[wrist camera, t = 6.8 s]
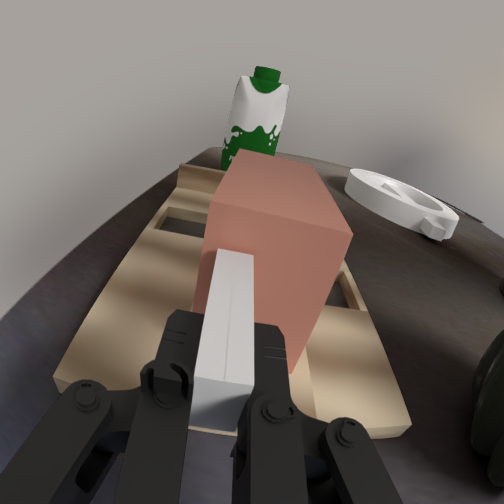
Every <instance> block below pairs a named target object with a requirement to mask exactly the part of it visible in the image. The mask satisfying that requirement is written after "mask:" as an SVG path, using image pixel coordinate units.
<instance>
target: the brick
mask: <svg viewBox="0 0 504 504" xmlns="http://www.w3.org/2000/svg"><path fill="white" fill-rule="evenodd" d="M352 237H353V233H352V231H351V229H350V227H349V226H348V224H347V222H346V220H345V219H344V217H343V215H342V213H341V212H340V210H339V208H338V206H337V205H336V203H335V201H334V200H333V198H332V196H331V195H330V193H329V191H328V190H327V188H326V186H325V185H324V183H323V181H322V180H321V178H320V177H319V175H318V173H317V172H316V170H315V169H314V167H313V166H310V165H307V164H303V163H299V162H295V161H291V160H287V159H283V158H279V157H275V156H271V155H267V154H263V153H258V152H254V151H249V150H245V149H239V151H238V152H237V154H236V156H235V158H234V159H233V161H232V163H231V164H230V166H229V168H228V170H227V172H226V173H225V175H224V177H223V179H222V180H221V182H220V184H219V186H218V188H217V189H216V191H215V193H214V195H213V197H212V198H211V200H210V205H209V211H208V217H207V222H206V228H205V234H204V240H203V246H202V252H201V258H200V265H199V271H198V278H197V284H196V291H195V298H194V305H193V312H195V313H200V314H205V311H206V306H207V301H208V295H209V290H210V285H211V280H212V275H213V270H214V265H215V260H216V255H217V250H218V248H219V249H224V250H229V251H234V252H240V253H245V254H250V255H254V322H257V323H263V324H270V325H276V326H278V327H279V329H280V330H281V332H282V334H283V335H284V337H285V346H286V349H285V351H286V355H287V359H286V360H287V365H288V374H292V372H293V370H294V368H295V366H296V364H297V362H298V360H299V358H300V356H301V354H302V352H303V350H304V347H305V345H306V343H307V341H308V339H309V337H310V335H311V333H312V331H313V328H314V326H315V324H316V322H317V320H318V318H319V315H320V313H321V311H322V309H323V306H324V304H325V302H326V300H327V297H328V295H329V293H330V291H331V288H332V286H333V284H334V281H335V279H336V276H337V274H338V272H339V269H340V267H341V264H342V262H343V259H344V257H345V254H346V252H347V249H348V247H349V244H350V242H351V239H352Z"/></svg>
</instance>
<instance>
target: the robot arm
mask: <svg viewBox="0 0 504 504" xmlns="http://www.w3.org/2000/svg"><path fill="white" fill-rule="evenodd" d="M500 289H501V292H502V294H503V295H504V279H503V281H502V283H501V285H500ZM285 349H286V346H285V337H284V335H283V334H282V332H281V330H280V329H279V327H278V326H276V325H270V324H263V323H257V322H254V255H250V254H245V253H240V252H234V251H229V250H224V249H219V248H218V250H217V255H216V260H215V265H214V270H213V275H212V280H211V285H210V290H209V295H208V301H207V306H206V311H205V314H200V313H195V312H190V311H185V310H180V309H176V310H175V311H174V312H173V313H172V314H171V315H170V316H169V317H168V318H167V322H166V325H165V328H164V331H163V334H162V337H161V341H160V344H159V347H158V350H157V354H156V357H155V360H152V361H150V362H149V363H147V364H146V365H144V367H143V368H142V370H141V372H140V382H141V385H140V386H139V387H136V388H134V389H129V390H107V388H106V387H104V386H103V385H102V384H101V383H99V382H97V381H94V380H88V379H82V380H79V381H76V382H73V383H72V384H71V385H70V386H68V387H67V388H66V389H65V391H64V392H63V393H62V394H61V396H60V397H59V398H58V399H57V401H56V402H55V403H54V404H53V406H52V407H51V408H50V409H49V411H48V412H47V413H46V414H45V416H44V417H43V418H42V420H41V421H40V422H39V423H38V425H37V426H36V427H35V429H34V430H33V431H32V433H31V434H30V435H29V436H28V438H27V439H26V440H25V442H24V443H23V444H22V446H21V447H20V448H19V450H18V451H17V452H16V454H15V455H14V457H13V458H12V459H11V461H10V462H9V463H8V465H7V466H6V468H5V469H4V470H3V472H2V473H1V475H0V504H90V502H91V501H92V499H93V497H94V495H95V494H96V492H97V490H98V489H99V487H100V485H101V483H102V482H103V480H104V478H105V477H106V475H107V473H108V471H109V470H110V468H111V466H112V465H113V463H114V461H115V460H116V458H117V456H118V454H119V453H123V452H125V455H124V459H123V463H122V467H121V471H120V476H119V480H118V485H117V489H116V494H115V499H114V503H113V504H179V495H180V487H181V479H182V471H183V463H184V455H185V448H186V440H187V433H188V426H194V427H200V428H206V429H212V430H220V431H227V432H235V431H236V429H237V440H236V443H235V445H234V447H233V449H232V451H231V455H230V457H233V480H232V504H403V502H402V500H401V498H400V496H399V494H398V492H397V490H396V488H395V486H394V484H393V482H392V480H391V478H390V476H389V474H388V472H387V470H386V468H385V466H384V464H383V462H382V460H381V458H380V456H379V454H378V452H377V450H376V448H375V446H374V444H373V442H372V440H371V438H370V436H369V434H368V432H367V430H366V429H365V428H364V426H363V425H362V424H361V423H359V422H358V421H357V420H355V419H352V418H349V417H339V418H336V419H334V420H332V421H331V422H330V423H328V422H325V421H322V420H318V419H315V418H312V417H310V416H308V415H306V414H304V413H303V412H301V411H300V410H299V409H298V408H297V406H296V405H295V404H294V403H293V401H292V398H291V394H290V384H289V374H288V365H287V360H286V359H287V355H286V351H285Z"/></svg>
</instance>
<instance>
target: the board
mask: <svg viewBox="0 0 504 504" xmlns="http://www.w3.org/2000/svg"><path fill="white" fill-rule="evenodd" d="M225 173H226V171H221V170H216V169H210V168H205V167H199V166H194V165H188V164H181V165H179V172H178V179H177V186H176V188H175V190H174V191H173V192H172V193H171V195H170V196H169V197H168V199H167V200H166V201H165V202H164V204H163V205H162V206H161V208H160V209H159V210H158V212H157V213H156V214H155V216H154V217H153V218H152V220H151V221H150V222H149V224H148V225H147V226H146V228H145V229H144V231H143V232H142V233H141V235H140V236H139V238H138V239H137V240H136V242H135V243H134V245H133V246H132V247H131V249H130V250H129V252H128V253H127V255H126V256H125V258H124V259H123V260H122V262H121V263H120V265H119V266H118V268H117V269H116V271H115V272H114V274H113V275H112V277H111V278H110V280H109V281H108V283H107V285H106V286H105V288H104V289H103V291H102V292H101V294H100V295H99V297H98V299H97V300H96V302H95V303H94V305H93V307H92V308H91V310H90V312H89V313H88V315H87V316H86V318H85V320H84V321H83V323H82V325H81V327H80V328H79V330H78V332H77V333H76V335H75V337H74V339H73V340H72V342H71V344H70V346H69V347H68V349H67V351H66V353H65V355H64V356H63V358H62V360H61V362H60V364H59V366H58V367H57V369H56V371H55V373H54V375H53V379H54V381H55V384H56V386H57V388H58V391H59V393H63V392H64V391H65V389H66V388H67V387H68V386H70V385H71V384H72V383H73V382H76V381H79V380H82V379H88V380H94V381H97V382H99V383H101V384H102V385H103V386H104V387H106V388H107V390H129V389H134V388H136V387H139V386H140V385H141V382H140V372H141V370H142V368H143V367H144V365H146V364H147V363H149V362H150V361H152V360H155V357H156V354H157V350H158V347H159V344H160V341H161V337H162V334H163V331H164V328H165V325H166V322H167V318H168V317H169V316H170V315H171V314H172V313H173V312H174V311H175V310H176V309H180V310H185V311H190V312H193V305H194V298H195V291H196V284H197V278H198V271H199V265H200V258H201V252H202V246H203V240H204V234H205V228H206V222H207V217H208V211H209V205H210V200H211V198H212V197H213V195H214V193H215V191H216V189H217V188H218V186H219V184H220V182H221V180H222V179H223V177H224V175H225ZM289 384H290V394H291V398H292V401H293V403H294V404H295V405H296V406H297V408H298V409H299V410H300V411H301V412H303V413H304V414H306V415H308V416H310V417H312V418H315V419H318V420H322V421H325V422H328V423H330V422H331V421H332V420H334V419H336V418H339V417H349V418H352V419H355V420H357V421H358V422H359V423H361V424H362V425H363V426H364V428H365V429H366V430H367V432H368V434H369V436H370V438H371V439H381V438H391V437H399V436H400V435H401V434H402V433H404V432H405V431H406V430H407V429H408V428H409V427H410V426H411V425H412V423H411V420H410V417H409V414H408V411H407V408H406V405H405V403H404V400H403V397H402V394H401V392H400V389H399V386H398V384H397V381H396V378H395V376H394V373H393V371H392V368H391V365H390V363H389V360H388V358H387V355H386V353H385V350H384V348H383V345H382V343H381V341H380V338H379V336H378V333H377V331H376V329H375V326H374V324H373V322H372V319H371V317H370V315H369V312H368V310H367V308H366V306H365V303H364V301H363V299H362V297H361V295H360V292H359V290H358V288H357V286H356V284H355V281H354V279H353V277H352V275H351V273H350V271H349V269H348V267H347V264H346V262H345V260H344V259H343V262H342V264H341V267H340V269H339V272H338V274H337V276H336V279H335V281H334V284H333V286H332V288H331V291H330V293H329V295H328V297H327V300H326V302H325V304H324V306H323V309H322V311H321V313H320V315H319V318H318V320H317V322H316V324H315V326H314V328H313V331H312V333H311V335H310V337H309V339H308V341H307V343H306V345H305V347H304V350H303V352H302V354H301V356H300V358H299V360H298V362H297V364H296V366H295V368H294V370H293V372H292V374H289ZM188 429H192V430H198V431H204V432H210V433H217V434H224V435H232V436H237V429H236V431H235V432H227V431H220V430H212V429H206V428H200V427H194V426H188Z"/></svg>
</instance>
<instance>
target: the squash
mask: <svg viewBox="0 0 504 504" xmlns="http://www.w3.org/2000/svg"><path fill="white" fill-rule="evenodd" d="M472 403H473V410H474V417H473V421H472V425H471V437H470V440H471V444H472V446H473V448H474V449H475V450H476V451H477V452H478V453H479V454H482V455H485V456H491V458H490V460H489V464H488V468H487V475H488V478H489V480H490V481H491V482H492V484H493V485H496V486H500V487H504V330H503V331H502V332H501V333H500V334H499V335H498V336H497V337H496V338H495V340H494V341H493V342H492V343H491V345H490V346H489V347H488V349H487V350H486V352H485V353H484V355H483V357H482V358H481V360H480V363H479V365H478V367H477V370H476V372H475V375H474V378H473V385H472Z"/></svg>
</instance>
